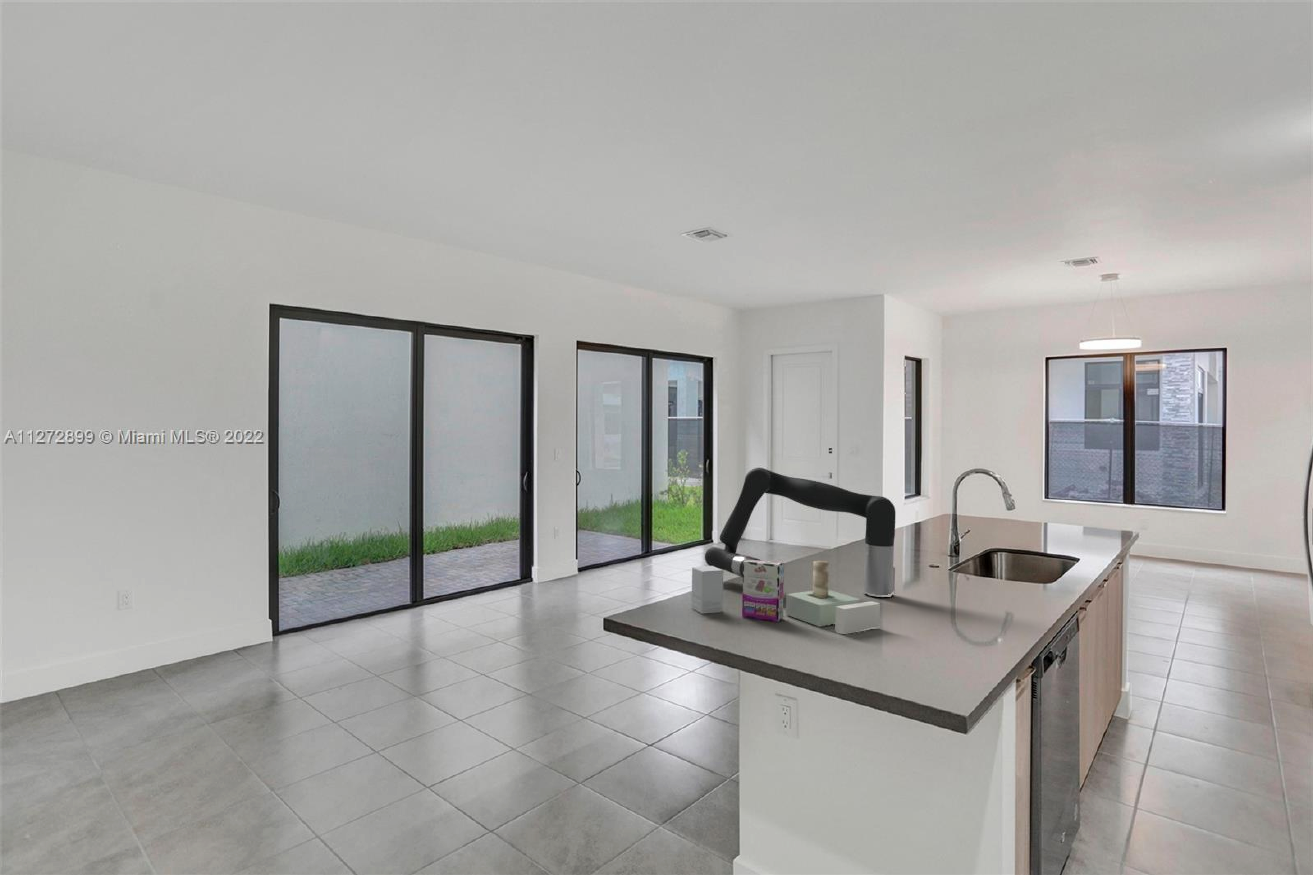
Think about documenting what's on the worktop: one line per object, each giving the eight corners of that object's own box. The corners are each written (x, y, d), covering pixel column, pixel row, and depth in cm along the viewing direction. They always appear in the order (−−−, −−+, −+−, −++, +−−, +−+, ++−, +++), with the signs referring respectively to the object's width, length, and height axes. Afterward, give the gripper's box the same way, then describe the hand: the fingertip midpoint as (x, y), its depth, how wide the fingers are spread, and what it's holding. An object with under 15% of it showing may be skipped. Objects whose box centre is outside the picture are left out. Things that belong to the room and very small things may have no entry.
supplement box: (723, 612, 201) (724, 570, 201) (700, 614, 198) (702, 571, 198) (712, 606, 208) (713, 565, 208) (690, 608, 205) (691, 566, 205)
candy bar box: (783, 618, 196) (785, 562, 196) (778, 622, 191) (779, 565, 191) (747, 613, 201) (748, 558, 201) (741, 616, 196) (742, 560, 196)
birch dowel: (820, 606, 201) (821, 560, 201) (831, 610, 197) (832, 562, 197) (809, 608, 199) (810, 561, 199) (819, 612, 195) (820, 563, 195)
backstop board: (871, 625, 190) (871, 601, 190) (879, 628, 188) (880, 603, 188) (835, 632, 183) (835, 606, 183) (843, 635, 181) (844, 609, 181)
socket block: (825, 608, 207) (826, 589, 207) (860, 619, 195) (860, 599, 195) (785, 614, 199) (786, 594, 199) (819, 626, 187) (820, 605, 187)
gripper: (732, 557, 224) (765, 567, 209) (763, 555, 231) (797, 564, 216) (731, 580, 224) (764, 591, 209) (762, 577, 231) (796, 588, 216)
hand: (781, 578), depth 213 cm, fingers closed
